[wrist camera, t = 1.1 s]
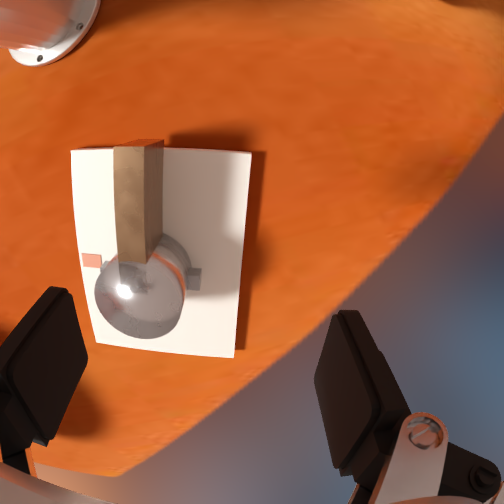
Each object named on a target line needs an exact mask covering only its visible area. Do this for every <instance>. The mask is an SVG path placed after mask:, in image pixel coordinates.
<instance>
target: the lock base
mask: <svg viewBox="0 0 504 504" xmlns="http://www.w3.org/2000/svg"><path fill="white" fill-rule="evenodd" d="M251 156H252V153H251V152H243V151H229V150H214V149H194V148H164V156H163V233H164V234H166V235H168V236H170V237H172V238H174V239H175V240H176V241H178V242H179V243H180V244H181V245H182V246H183V248H184V249H185V250H186V252H187V254H188V256H189V258H190V261H191V266H192V268H202V279H201V287H200V291H195V290H187V294H186V297H185V301H184V304H183V308H182V312H181V316H180V319H179V321H178V323H177V325H176V326H175V328H174V329H173V330H172V331H170V332H169V333H168V334H166V335H164V336H162V337H159V338H154V339H139V338H134V337H131V336H128V335H126V334H124V333H122V332H120V331H118V330H117V329H115V328H114V327H113V326H111V325H110V324H109V323H108V322H107V321H106V320H105V318H104V317H103V316H102V314H101V313H100V311H99V309H98V307H97V304H96V301H95V295H94V288H95V283H96V280H97V278H98V276H99V275H100V273H101V272H100V267H101V266H102V264H103V263H104V262H105V261H110V260H111V259H112V258H113V257H114V255H115V254H116V253H117V241H116V227H115V210H114V181H113V147H109V148H79V149H75V150H71V168H72V189H73V203H74V215H75V225H76V234H77V242H78V250H79V257H80V264H81V270H82V276H83V282H84V287H85V293H86V298H87V303H88V308H89V312H90V317H91V321H92V326H93V330H94V334H95V338H96V342H98V343H104V344H110V345H116V346H123V347H130V348H137V349H144V350H152V351H160V352H169V353H178V354H189V355H200V356H212V357H226V358H234V349H235V336H236V324H237V312H238V300H239V289H240V277H241V265H242V254H243V243H244V232H245V220H246V209H247V198H248V188H249V177H250V166H251Z"/></svg>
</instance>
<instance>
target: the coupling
mask: <svg viewBox="0 0 504 504" xmlns="http://www.w3.org/2000/svg"><path fill="white" fill-rule="evenodd" d="M163 156H164V140H161V139H138V140H135V141H131V142H128V143H124V144H121V145H118V146H114V147H113V181H114V210H115V227H116V241H117V253H116V254H115V255H114V257H113V258H112V259H111V260H110V261H105V262H104V263H103V264H102V266H101V267H100V272H101V273H100V275H99V276H98V278H97V280H96V283H95V288H94V295H95V301H96V304H97V307H98V309H99V311H100V313H101V314H102V316H103V317H104V318H105V320H106V321H107V322H108V323H109V324H110V325H111V326H113V327H114V328H115V329H117V330H118V331H120V332H122V333H124V334H126V335H128V336H131V337H134V338H139V339H154V338H159V337H162V336H164V335H166V334H168V333H169V332H170V331H172V330H173V329H174V328H175V326H176V325H177V323H178V321H179V319H180V316H181V312H182V308H183V304H184V301H185V297H186V294H187V290H195V291H200V287H201V279H202V268H192V266H191V261H190V258H189V256H188V254H187V252H186V250H185V249H184V248H183V246H182V245H181V244H180V243H179V242H178V241H176V240H175V239H174V238H172V237H170V236H168V235H166V234H164V233H163Z"/></svg>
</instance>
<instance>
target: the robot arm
mask: <svg viewBox="0 0 504 504" xmlns="http://www.w3.org/2000/svg"><path fill="white" fill-rule="evenodd" d="M100 2H101V0H0V48H6V49H9V52H10V54H11V55H12V57H13V58H14V59H15V60H16V61H17V62H18V63H20V64H22V65H26V66H35V67H39V66H44V65H48V64H50V63H53V62H55V61H57V60H59V59H60V58H62V57H64V56H65V55H66V54H67V53H69V52H70V51H71V50H72V49H73V48H74V47H75V46H76V45H77V44H78V43H79V42H80V41H81V40H82V39H83V37H84V36H85V35H86V34H87V32H88V30H89V29H90V27H91V26H92V24H93V22H94V20H95V18H96V15H97V13H98V10H99V6H100ZM82 27H83V28H82ZM87 362H88V355H87V351H86V348H85V344H84V341H83V337H82V333H81V330H80V326H79V322H78V318H77V314H76V310H75V305H74V301H73V297H72V295H71V294H70V293H68V290H67V289H66V288H60V287H53V286H51V287H49V288H48V289H47V290H46V291H45V292H44V293H43V295H42V296H41V297H40V298H39V299H38V300H37V302H36V303H35V304H34V305H33V306H32V308H31V309H30V310H29V311H28V312H27V314H26V315H25V316H24V317H23V318H22V320H21V321H20V322H19V323H18V325H17V326H16V327H15V328H14V330H13V331H12V332H11V334H10V335H9V336H8V337H7V339H6V340H5V341H4V343H3V344H2V345H1V347H0V504H116V503H112V502H108V501H104V500H100V499H97V498H93V497H90V496H87V495H83V494H80V493H76V492H74V491H71V490H68V489H65V488H62V487H59V486H56V485H54V484H51V483H48V482H46V481H43V480H41V479H38V478H37V474H36V471H35V467H34V462H33V458H32V454H31V449H30V446H31V443H32V441H33V442H34V443H37V444H40V445H42V446H45V447H47V445H48V443H49V440H52V439H53V438H54V437H55V435H56V432H57V430H58V428H59V425H60V423H61V420H62V418H63V416H64V413H65V411H66V409H67V406H68V404H69V402H70V400H71V397H72V395H73V393H74V391H75V389H76V387H77V384H78V382H79V380H80V378H81V376H82V374H83V372H84V370H85V367H86V365H87ZM314 384H315V389H316V393H317V397H318V401H319V406H320V410H321V414H322V418H323V422H324V427H325V431H326V436H327V440H328V445H329V449H330V453H331V458H332V463H333V466H334V468H335V469H337V468H339V471H340V475H341V477H342V476H349V475H353V477H354V481H355V482H357V485H356V487H355V489H354V491H353V493H352V495H351V497H350V500H349V502H348V504H504V481H503V482H502V481H501V475H500V472H499V470H498V468H497V467H496V465H495V464H494V463H492V462H491V461H489V460H487V459H484V458H482V457H480V456H478V455H476V454H473V453H471V452H469V451H467V450H464V449H463V448H460V447H458V446H456V445H454V444H452V443H450V442H448V432H447V429H446V426H445V425H444V424H443V422H442V421H441V420H439V419H438V418H437V417H436V416H433V415H431V414H429V413H423V412H421V413H414V414H411V412H410V409H409V407H408V405H407V403H406V401H405V399H404V396H403V394H402V392H401V390H400V388H399V386H398V384H397V382H396V380H395V377H394V375H393V374H392V371H391V369H390V367H389V365H388V363H387V362H386V359H385V357H384V356H383V354H382V352H381V351H379V350H378V348H377V346H376V344H375V342H374V340H373V338H372V336H371V334H370V332H369V330H368V328H367V326H366V324H365V322H364V321H363V318H362V317H361V315H360V313H359V311H357V310H340V311H339V312H338V314H335V315H333V316H332V319H331V322H330V326H329V329H328V333H327V336H326V340H325V343H324V346H323V350H322V353H321V356H320V359H319V362H318V366H317V369H316V372H315V376H314Z"/></svg>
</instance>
